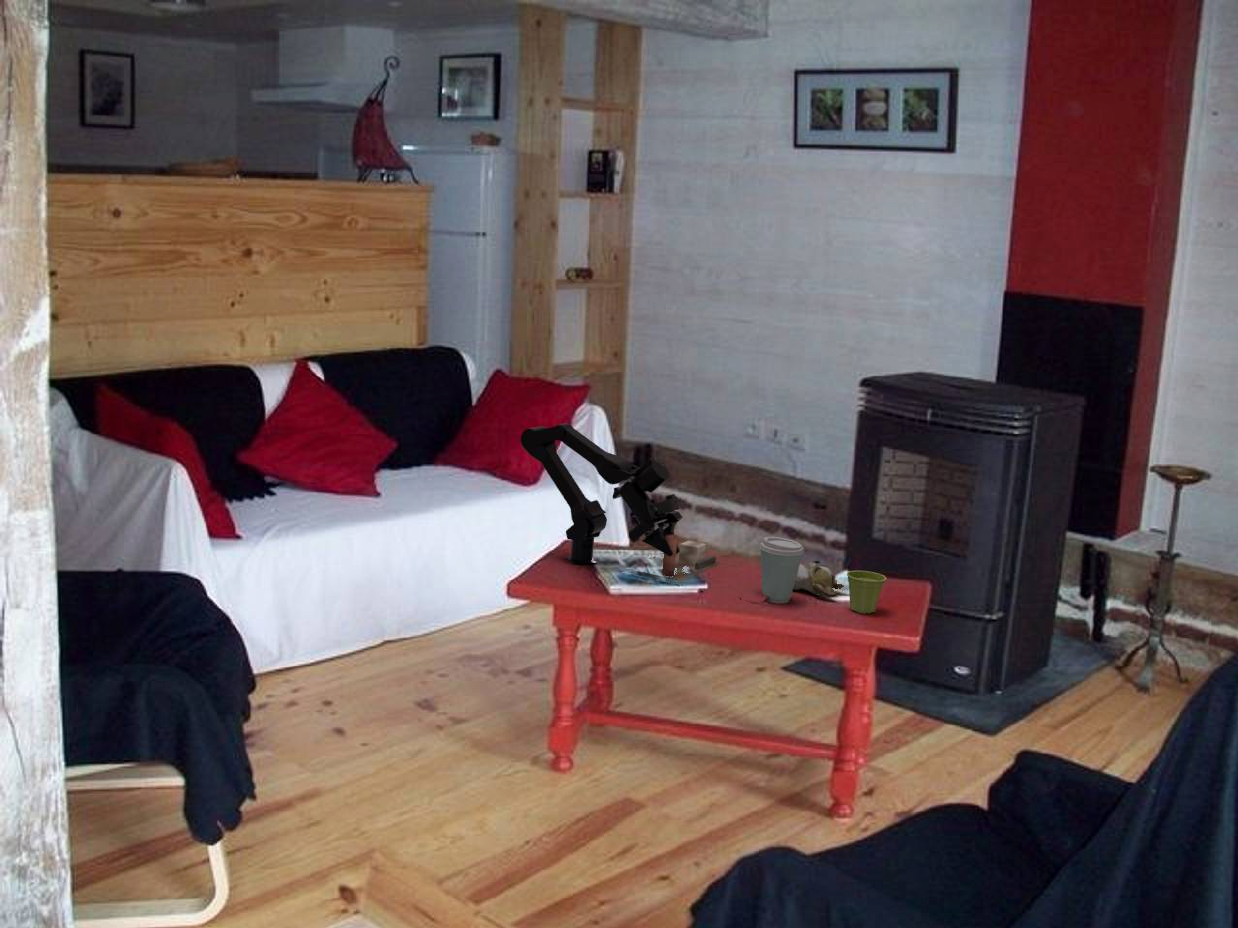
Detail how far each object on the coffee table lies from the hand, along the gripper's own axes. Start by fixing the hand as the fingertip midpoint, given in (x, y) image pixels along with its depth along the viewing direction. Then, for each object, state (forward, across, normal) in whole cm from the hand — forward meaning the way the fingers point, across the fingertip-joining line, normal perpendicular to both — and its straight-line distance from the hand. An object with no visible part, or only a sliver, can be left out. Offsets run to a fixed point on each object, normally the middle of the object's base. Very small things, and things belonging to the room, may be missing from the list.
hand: (674, 554), depth 354 cm
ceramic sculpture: (+27, +17, -17) cm, 36 cm away
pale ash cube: (+2, +15, +6) cm, 16 cm away
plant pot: (+37, +11, -27) cm, 48 cm away
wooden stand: (+2, +9, +8) cm, 12 cm away
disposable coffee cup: (+24, +4, -14) cm, 28 cm away
